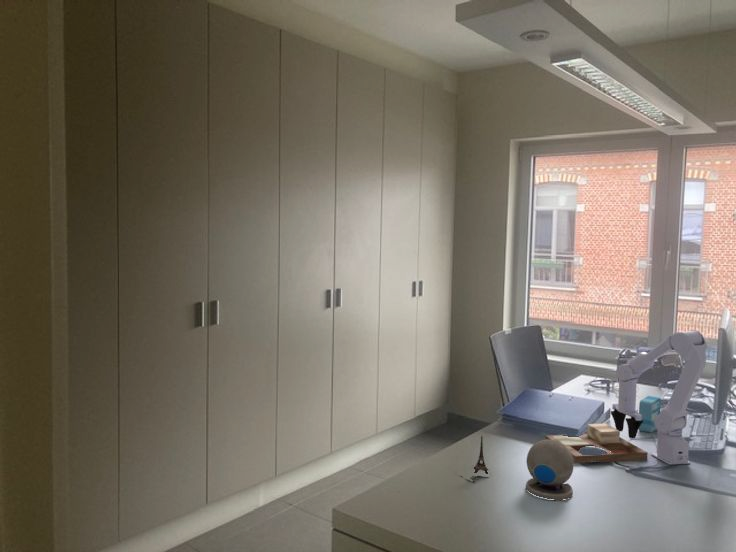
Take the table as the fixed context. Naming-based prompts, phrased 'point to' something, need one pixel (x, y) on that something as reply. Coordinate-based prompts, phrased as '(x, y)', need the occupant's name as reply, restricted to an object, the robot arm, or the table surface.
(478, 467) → the eiffel tower figurine
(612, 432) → the birch block
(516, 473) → the table surface
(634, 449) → the trap deck
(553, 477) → the webcam
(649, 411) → the data package
